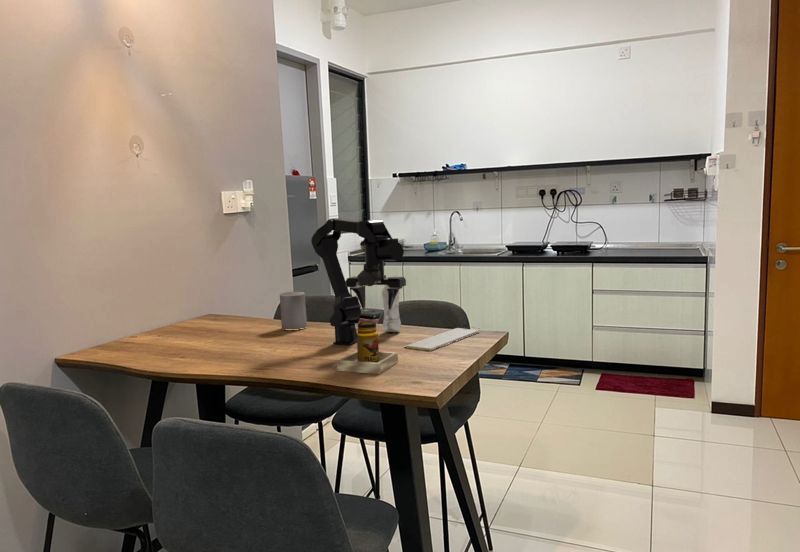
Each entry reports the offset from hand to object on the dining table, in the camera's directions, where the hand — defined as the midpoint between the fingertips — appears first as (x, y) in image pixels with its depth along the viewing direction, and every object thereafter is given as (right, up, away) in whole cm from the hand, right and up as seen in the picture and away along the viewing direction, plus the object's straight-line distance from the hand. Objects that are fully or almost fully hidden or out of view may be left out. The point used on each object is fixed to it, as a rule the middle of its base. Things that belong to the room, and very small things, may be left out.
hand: (376, 309), depth 188 cm
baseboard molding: (+21, -12, +12) cm, 27 cm away
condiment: (-2, -15, -19) cm, 24 cm away
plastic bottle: (+5, -10, +27) cm, 29 cm away
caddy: (-2, -15, -19) cm, 25 cm away
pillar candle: (-34, -10, +42) cm, 54 cm away
